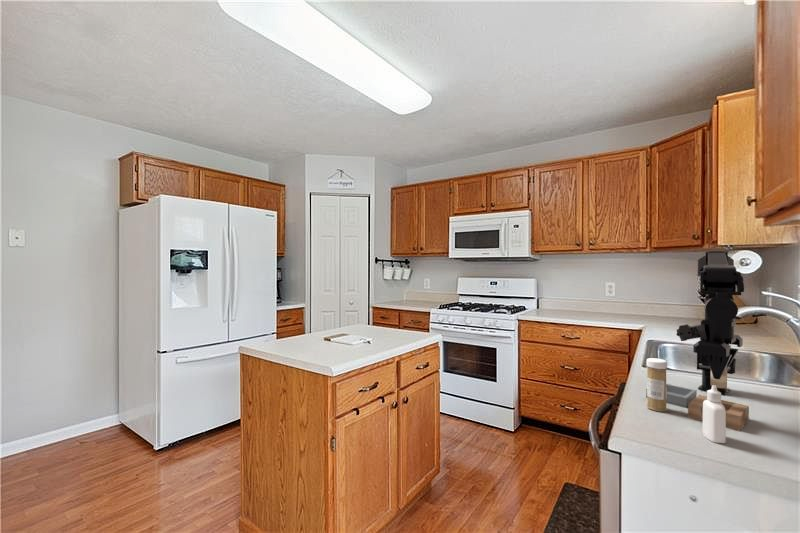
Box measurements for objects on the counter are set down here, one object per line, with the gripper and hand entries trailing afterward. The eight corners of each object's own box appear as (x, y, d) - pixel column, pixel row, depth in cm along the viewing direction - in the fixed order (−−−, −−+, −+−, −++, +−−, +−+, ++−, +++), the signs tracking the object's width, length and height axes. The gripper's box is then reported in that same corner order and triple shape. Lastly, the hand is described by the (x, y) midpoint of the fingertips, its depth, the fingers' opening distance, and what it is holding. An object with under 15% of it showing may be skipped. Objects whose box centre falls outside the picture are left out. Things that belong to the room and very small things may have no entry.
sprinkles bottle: (669, 409, 101) (670, 360, 100) (662, 413, 98) (662, 362, 98) (650, 404, 104) (651, 356, 104) (643, 408, 102) (643, 359, 102)
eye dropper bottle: (728, 437, 85) (728, 385, 85) (724, 445, 81) (725, 391, 81) (703, 431, 88) (704, 380, 88) (699, 438, 84) (699, 386, 84)
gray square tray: (657, 390, 115) (657, 381, 115) (696, 399, 108) (696, 390, 108) (646, 397, 109) (646, 388, 109) (686, 407, 102) (686, 398, 102)
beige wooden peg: (712, 383, 97) (712, 356, 97) (728, 386, 94) (728, 359, 94) (708, 385, 95) (709, 358, 95) (725, 389, 93) (725, 361, 92)
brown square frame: (699, 407, 102) (699, 394, 102) (748, 419, 94) (748, 405, 94) (688, 417, 96) (688, 403, 96) (740, 431, 88) (740, 416, 88)
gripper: (690, 309, 107) (690, 364, 107) (668, 316, 95) (668, 377, 95) (743, 314, 98) (742, 373, 98) (725, 322, 86) (725, 389, 87)
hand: (718, 377), depth 95 cm, fingers closed on beige wooden peg, 3 cm apart
